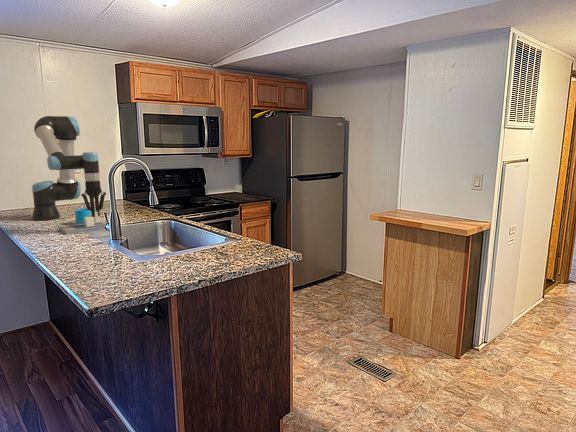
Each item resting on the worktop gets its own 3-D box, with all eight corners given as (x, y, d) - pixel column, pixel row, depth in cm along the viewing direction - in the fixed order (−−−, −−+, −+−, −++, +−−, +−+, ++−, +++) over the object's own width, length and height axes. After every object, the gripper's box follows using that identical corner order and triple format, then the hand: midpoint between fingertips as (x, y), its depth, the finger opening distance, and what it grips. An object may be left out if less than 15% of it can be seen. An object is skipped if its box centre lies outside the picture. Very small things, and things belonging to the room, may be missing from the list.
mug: (78, 225, 239) (77, 211, 238) (74, 223, 245) (73, 209, 244) (99, 222, 247) (98, 209, 246) (95, 220, 253) (94, 207, 252)
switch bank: (58, 230, 225) (57, 226, 225) (106, 223, 243) (105, 219, 242) (66, 234, 215) (65, 230, 215) (115, 227, 233) (115, 223, 233)
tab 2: (90, 222, 235) (89, 213, 234) (97, 221, 238) (96, 213, 237) (92, 223, 233) (91, 214, 232) (99, 222, 235) (99, 213, 234)
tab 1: (84, 225, 226) (83, 217, 225) (92, 224, 229) (91, 216, 228) (87, 227, 223) (86, 218, 222) (94, 225, 226) (93, 217, 225)
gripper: (82, 181, 217) (86, 225, 221) (107, 180, 226) (110, 221, 230) (77, 180, 222) (81, 223, 226) (102, 179, 231) (105, 219, 235)
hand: (96, 222), depth 228 cm, fingers closed
